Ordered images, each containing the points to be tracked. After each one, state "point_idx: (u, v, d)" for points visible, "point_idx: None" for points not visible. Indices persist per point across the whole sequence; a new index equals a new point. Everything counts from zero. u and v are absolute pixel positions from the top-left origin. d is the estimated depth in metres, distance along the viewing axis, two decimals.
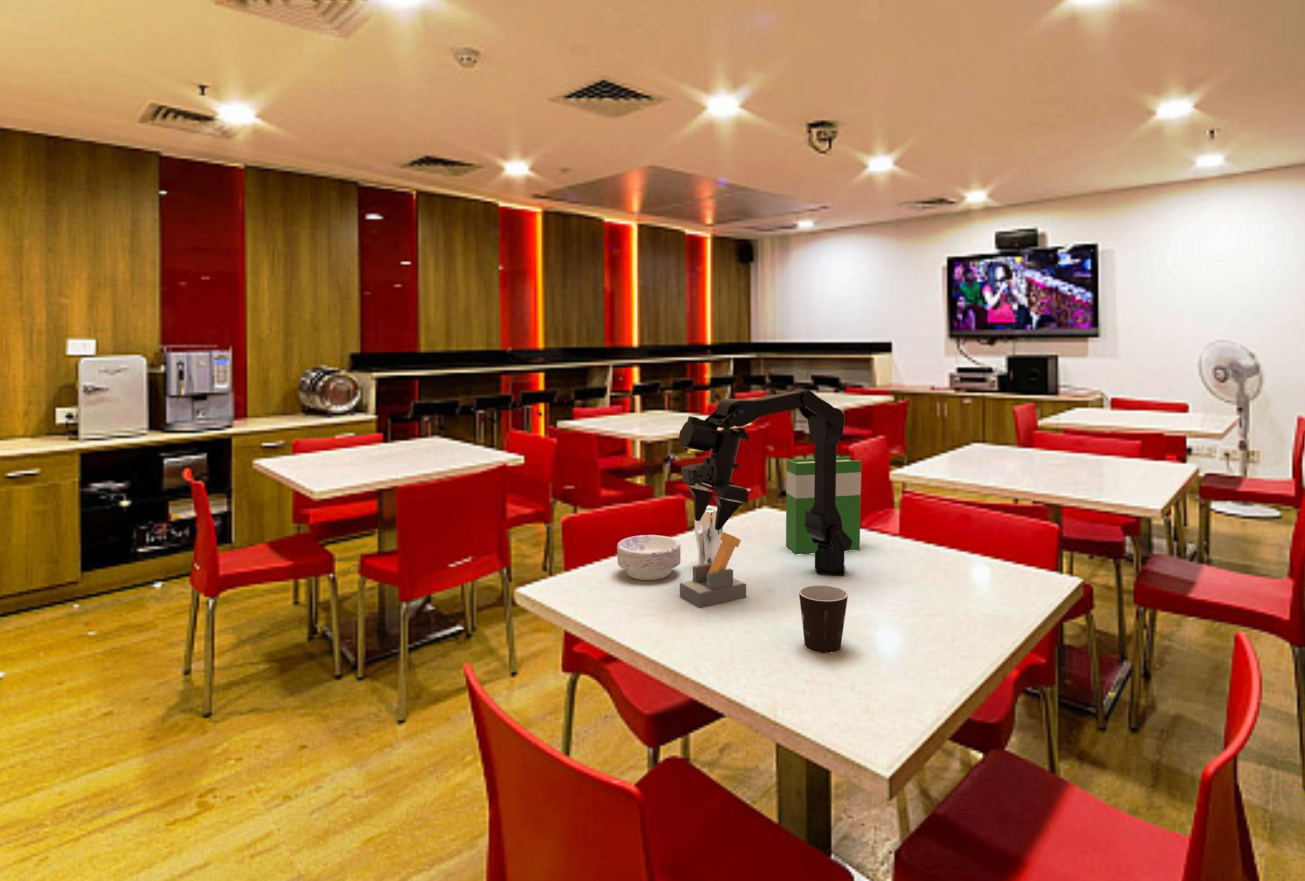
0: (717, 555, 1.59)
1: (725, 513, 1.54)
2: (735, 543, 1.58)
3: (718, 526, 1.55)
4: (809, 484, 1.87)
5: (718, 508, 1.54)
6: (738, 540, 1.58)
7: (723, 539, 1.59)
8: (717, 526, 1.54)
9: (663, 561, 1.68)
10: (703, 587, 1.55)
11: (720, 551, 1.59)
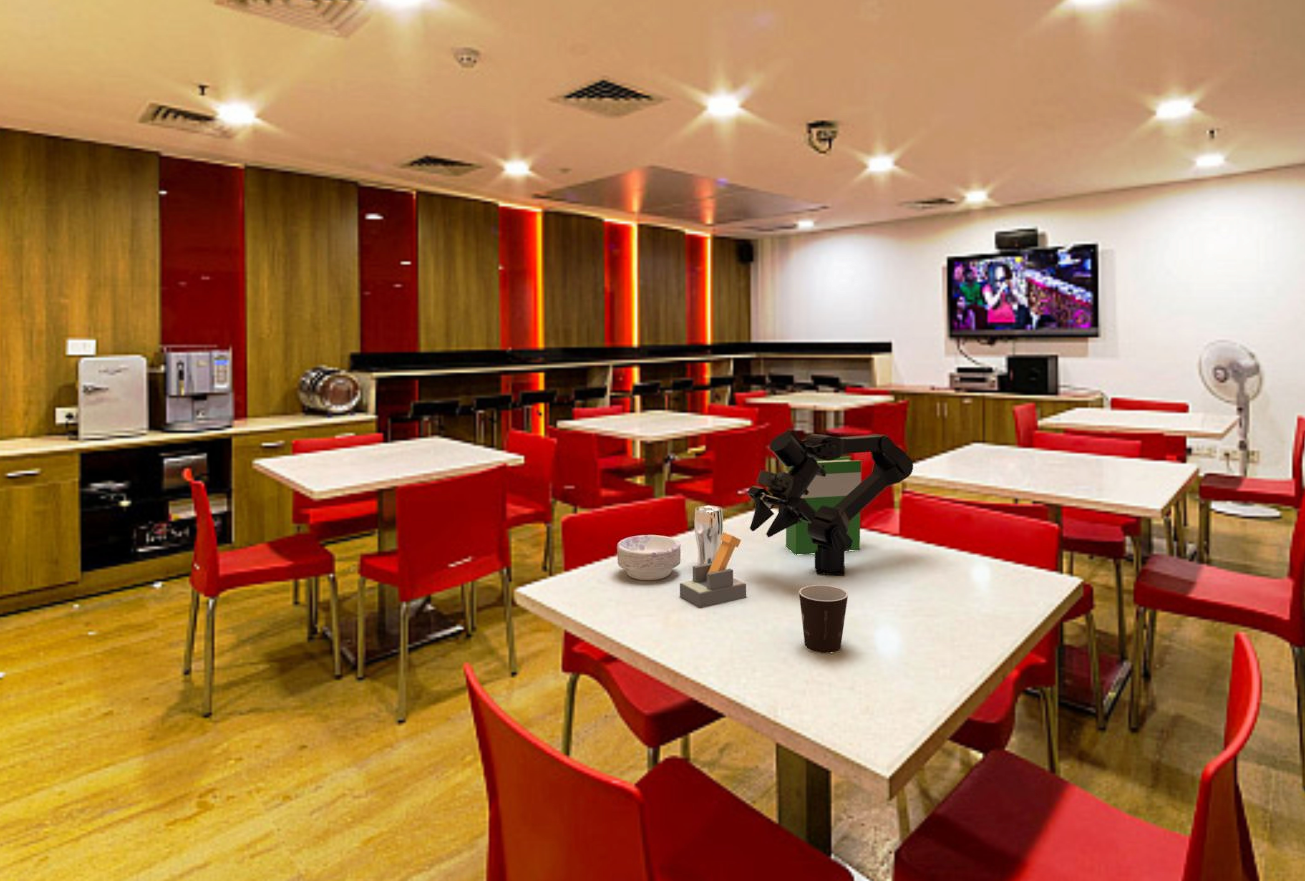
0: (717, 555, 1.59)
1: (781, 524, 1.60)
2: (735, 543, 1.58)
3: (770, 533, 1.60)
4: None
5: (778, 516, 1.60)
6: (738, 540, 1.58)
7: (723, 539, 1.59)
8: (769, 532, 1.60)
9: (663, 561, 1.68)
10: (703, 587, 1.55)
11: (720, 551, 1.59)
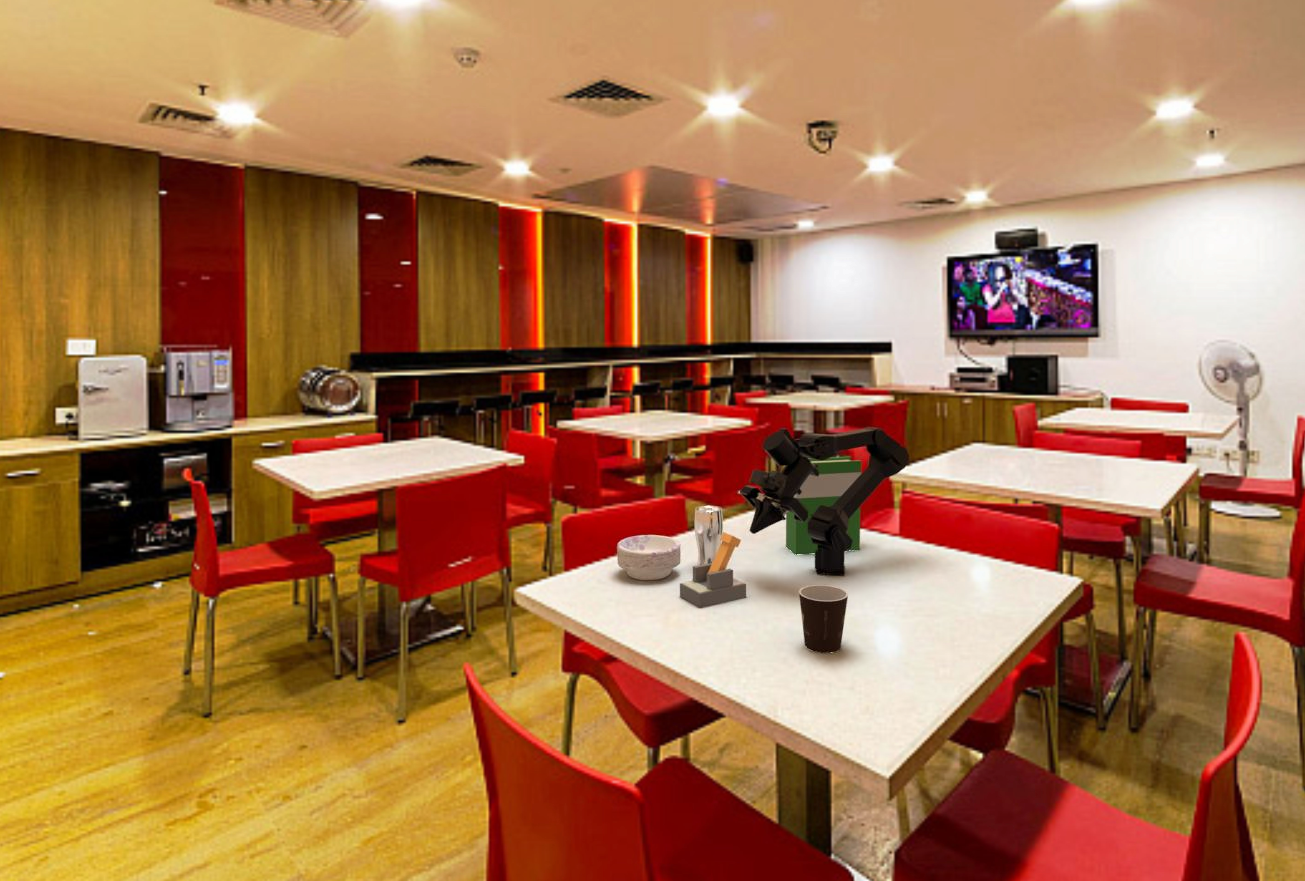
0: (717, 555, 1.59)
1: (766, 521, 1.62)
2: (735, 543, 1.58)
3: (755, 529, 1.61)
4: (809, 484, 1.87)
5: (762, 513, 1.62)
6: (738, 540, 1.58)
7: (723, 539, 1.59)
8: (754, 529, 1.61)
9: (663, 560, 1.68)
10: (703, 587, 1.55)
11: (720, 551, 1.59)
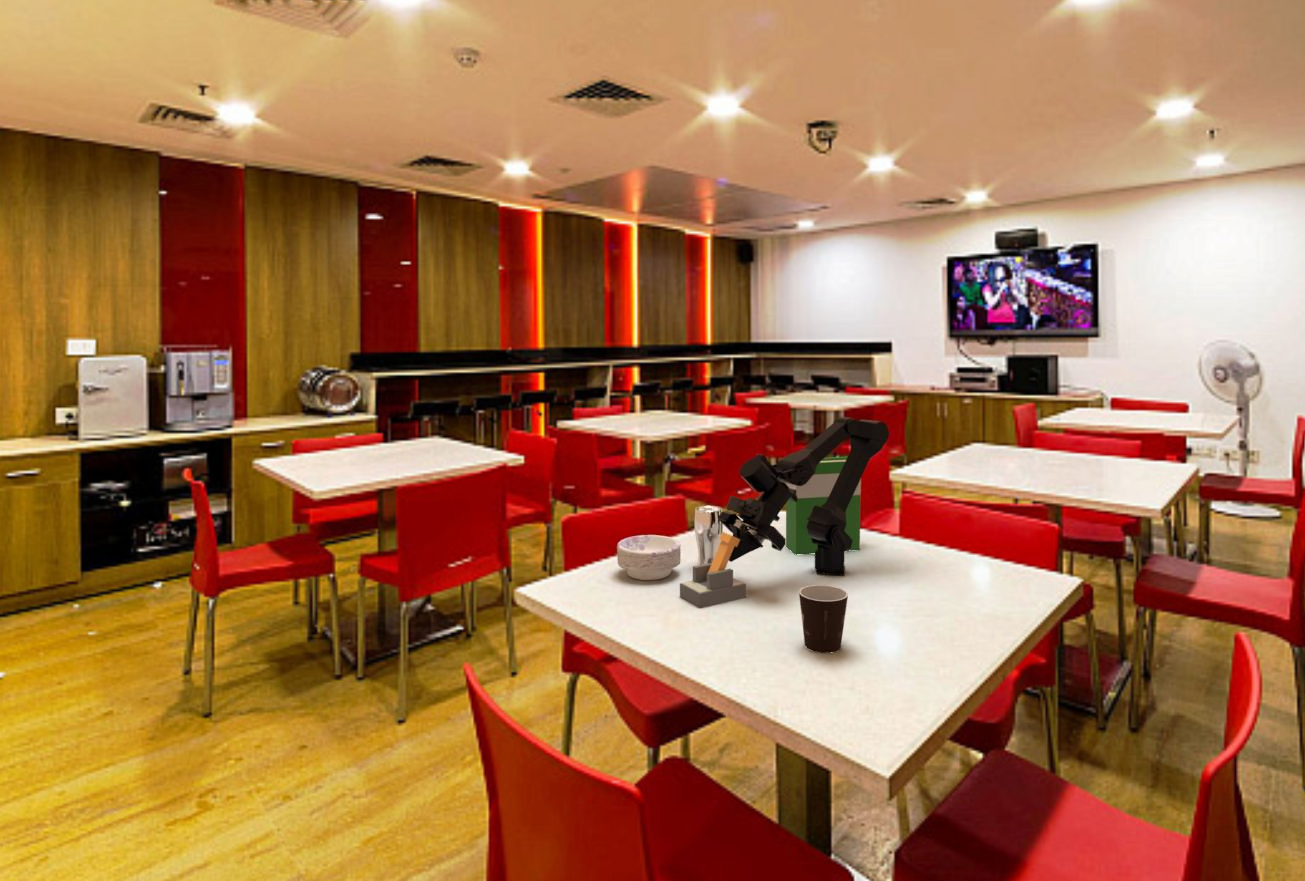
0: (717, 555, 1.59)
1: (743, 548, 1.60)
2: (734, 542, 1.58)
3: (732, 557, 1.59)
4: (809, 484, 1.87)
5: (739, 541, 1.59)
6: (737, 539, 1.58)
7: (722, 539, 1.59)
8: (731, 557, 1.59)
9: (663, 560, 1.68)
10: (703, 587, 1.55)
11: (719, 551, 1.59)
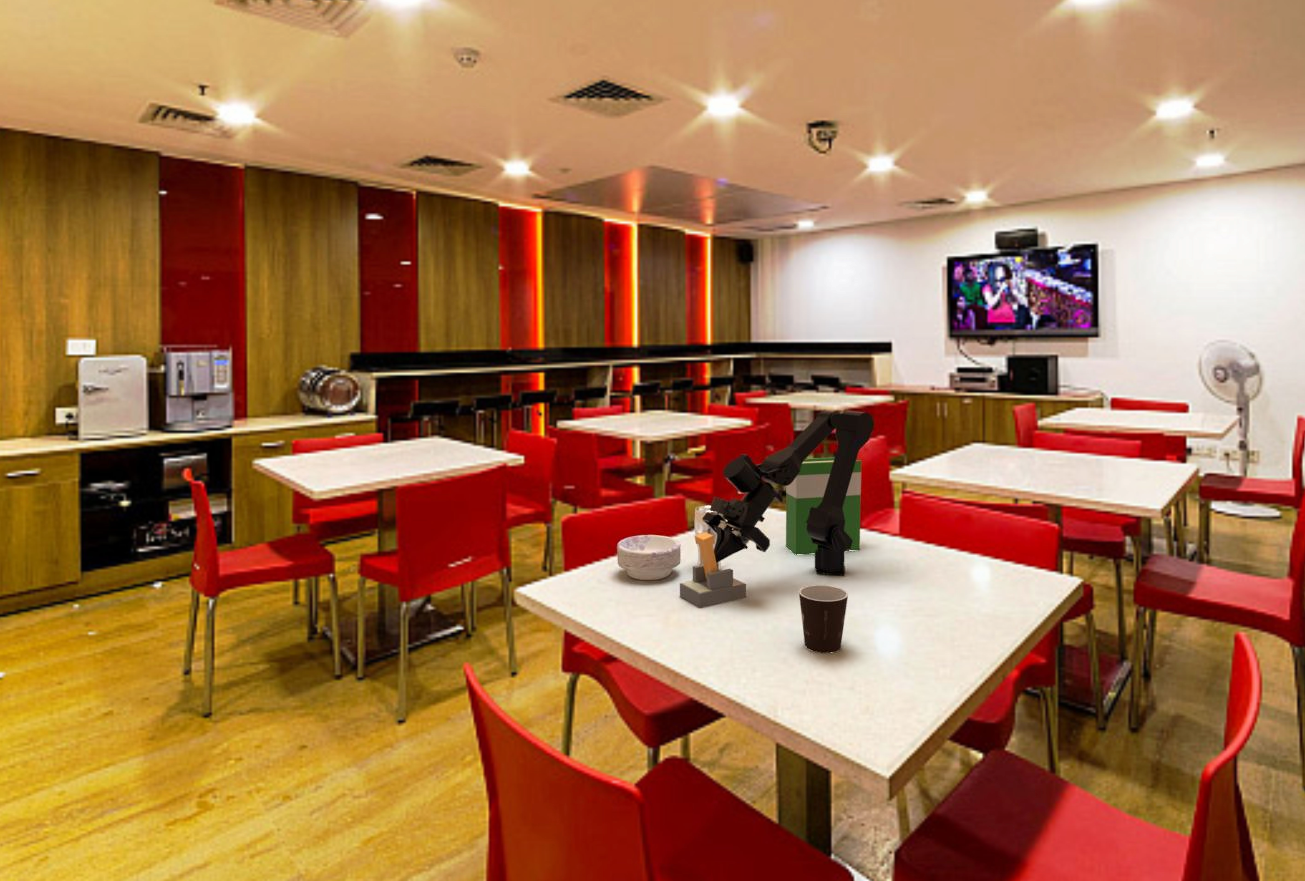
0: (703, 558, 1.57)
1: (727, 550, 1.57)
2: (710, 542, 1.55)
3: (716, 559, 1.57)
4: (809, 484, 1.87)
5: (724, 542, 1.57)
6: (711, 538, 1.55)
7: (698, 543, 1.56)
8: (715, 558, 1.57)
9: (663, 560, 1.68)
10: (703, 587, 1.55)
11: (703, 554, 1.57)
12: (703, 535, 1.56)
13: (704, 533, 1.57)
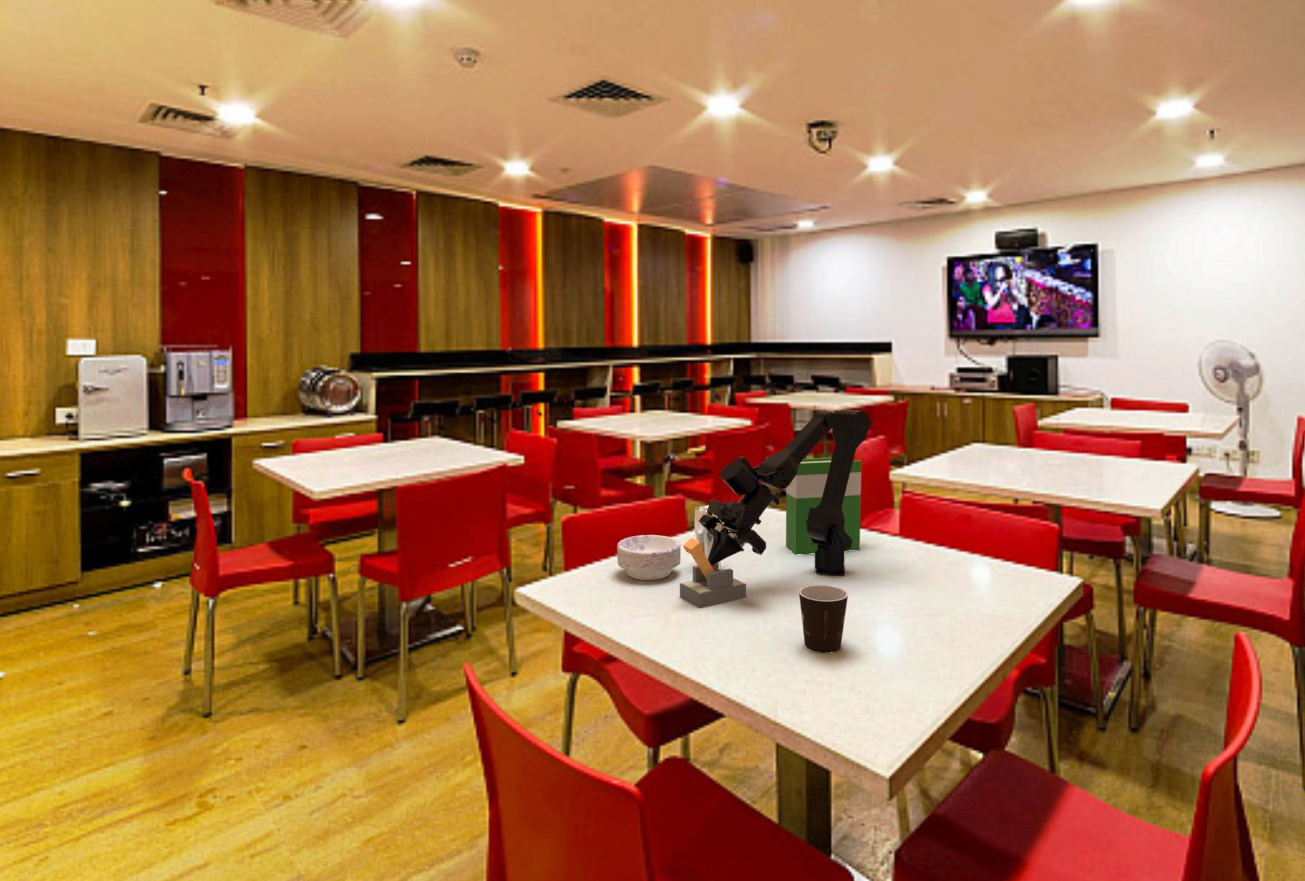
0: (697, 563, 1.57)
1: (724, 552, 1.57)
2: (699, 549, 1.53)
3: (712, 561, 1.57)
4: (809, 484, 1.87)
5: (720, 544, 1.57)
6: (699, 544, 1.53)
7: (688, 552, 1.55)
8: (711, 561, 1.57)
9: (663, 561, 1.68)
10: (703, 587, 1.55)
11: (696, 560, 1.56)
12: (690, 543, 1.55)
13: (691, 540, 1.55)
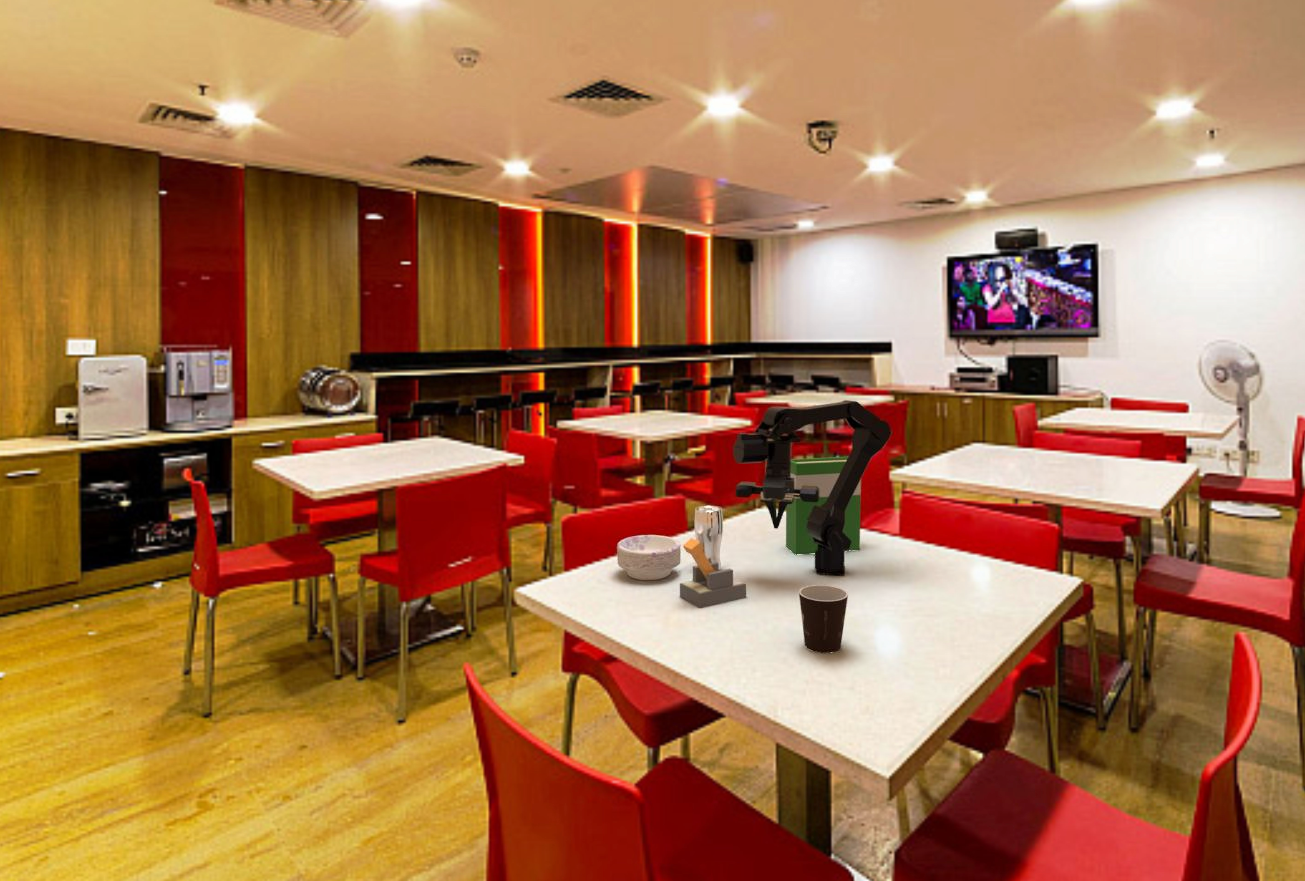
0: (697, 563, 1.57)
1: (783, 511, 1.68)
2: (699, 549, 1.53)
3: None
4: (809, 484, 1.87)
5: (780, 510, 1.67)
6: (699, 544, 1.53)
7: (688, 552, 1.55)
8: (778, 525, 1.68)
9: (663, 561, 1.68)
10: (703, 587, 1.55)
11: (696, 560, 1.56)
12: (690, 543, 1.55)
13: (691, 540, 1.55)
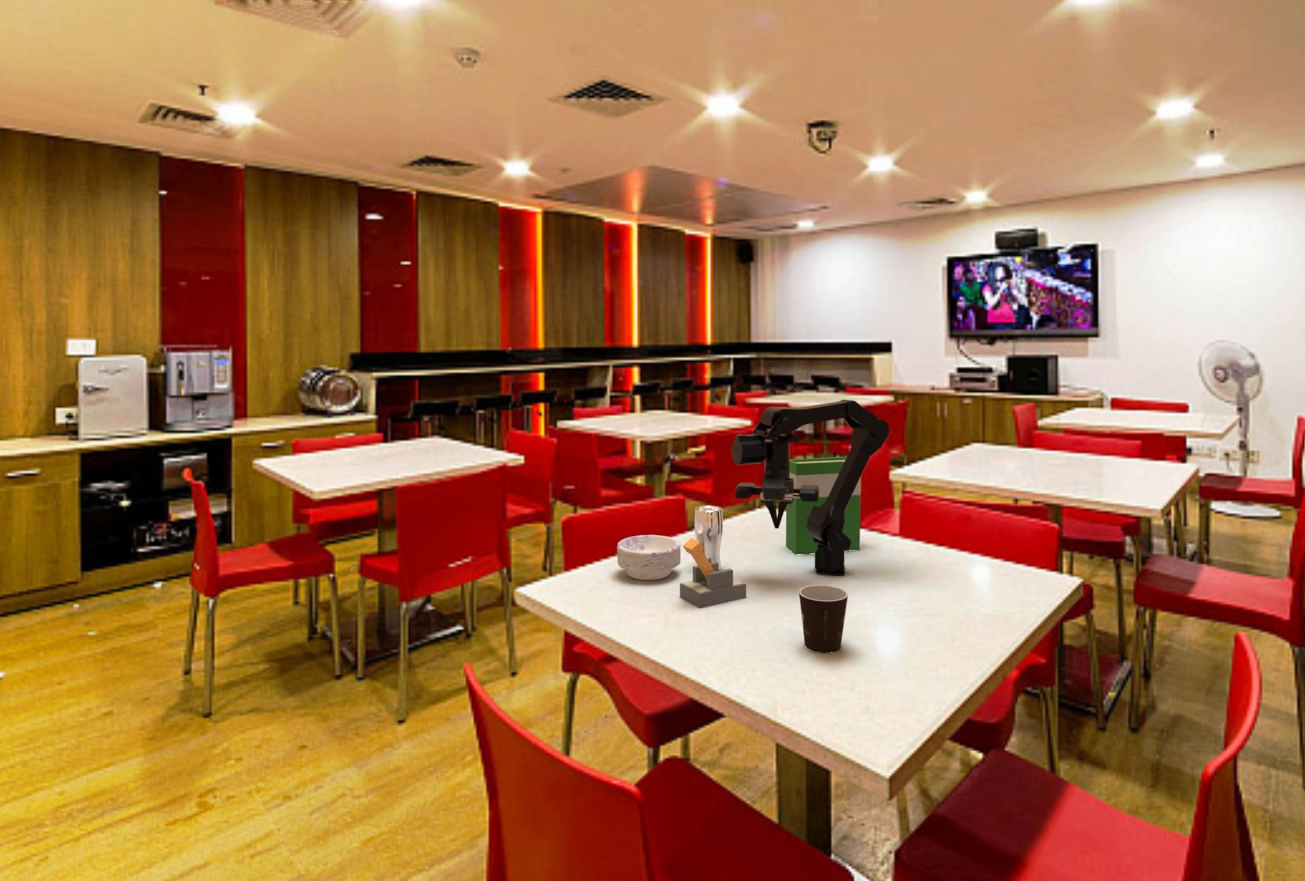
0: (697, 563, 1.57)
1: None
2: (699, 549, 1.53)
3: (779, 525, 1.68)
4: (809, 484, 1.87)
5: (780, 510, 1.67)
6: (699, 544, 1.53)
7: (688, 552, 1.55)
8: (779, 525, 1.68)
9: (663, 561, 1.68)
10: (703, 587, 1.55)
11: (696, 560, 1.56)
12: (690, 543, 1.55)
13: (691, 540, 1.55)
